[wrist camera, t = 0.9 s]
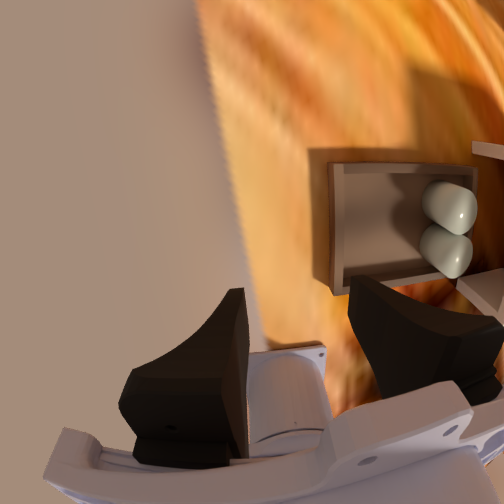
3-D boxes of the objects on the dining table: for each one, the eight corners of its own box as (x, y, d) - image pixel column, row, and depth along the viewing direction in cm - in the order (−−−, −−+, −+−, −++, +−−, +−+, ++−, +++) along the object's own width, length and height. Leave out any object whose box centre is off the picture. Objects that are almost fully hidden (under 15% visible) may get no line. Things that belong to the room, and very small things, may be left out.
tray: (452, 264, 23) (465, 273, 21) (326, 282, 23) (333, 296, 21) (463, 164, 19) (478, 168, 17) (324, 161, 20) (333, 164, 18)
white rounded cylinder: (445, 257, 22) (468, 274, 19) (417, 263, 22) (439, 281, 19) (450, 221, 21) (475, 234, 17) (421, 224, 21) (446, 238, 17)
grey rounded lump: (450, 219, 20) (474, 233, 17) (420, 221, 21) (442, 236, 17) (453, 179, 19) (479, 189, 16) (422, 179, 19) (447, 188, 16)
